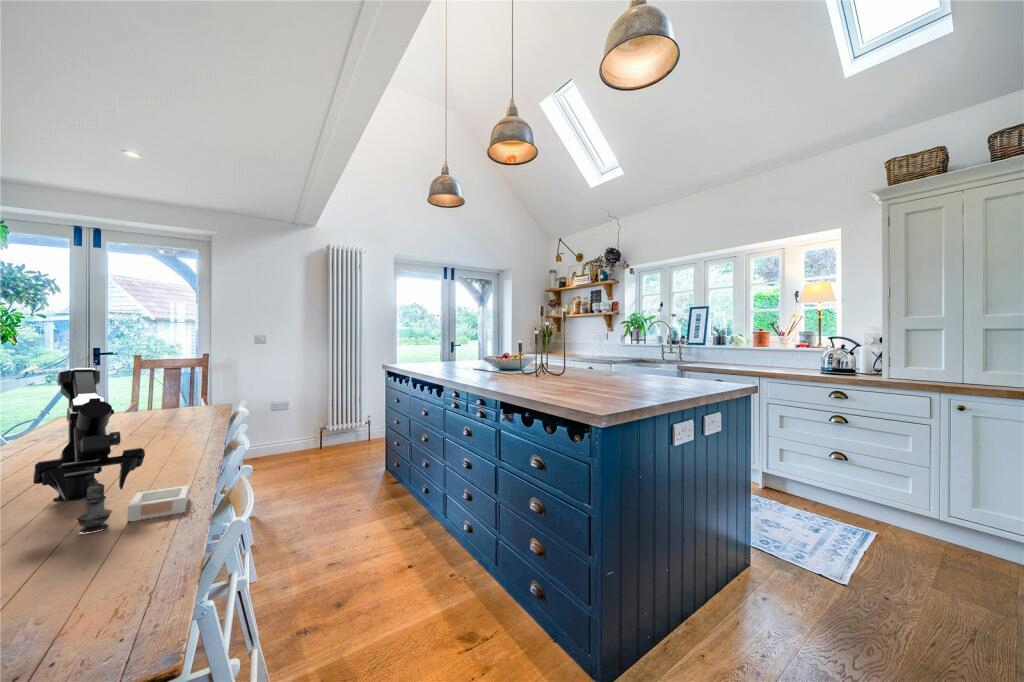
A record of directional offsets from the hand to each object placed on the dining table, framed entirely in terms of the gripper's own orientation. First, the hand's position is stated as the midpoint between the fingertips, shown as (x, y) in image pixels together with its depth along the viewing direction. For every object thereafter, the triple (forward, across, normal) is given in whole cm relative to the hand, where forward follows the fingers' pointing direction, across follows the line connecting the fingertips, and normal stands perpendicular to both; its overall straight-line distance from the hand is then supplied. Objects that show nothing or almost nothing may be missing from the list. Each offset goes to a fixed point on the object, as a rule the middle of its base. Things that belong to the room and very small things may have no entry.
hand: (95, 493), depth 93 cm
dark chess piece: (+7, 0, +6) cm, 9 cm away
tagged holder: (+5, +13, +7) cm, 15 cm away
